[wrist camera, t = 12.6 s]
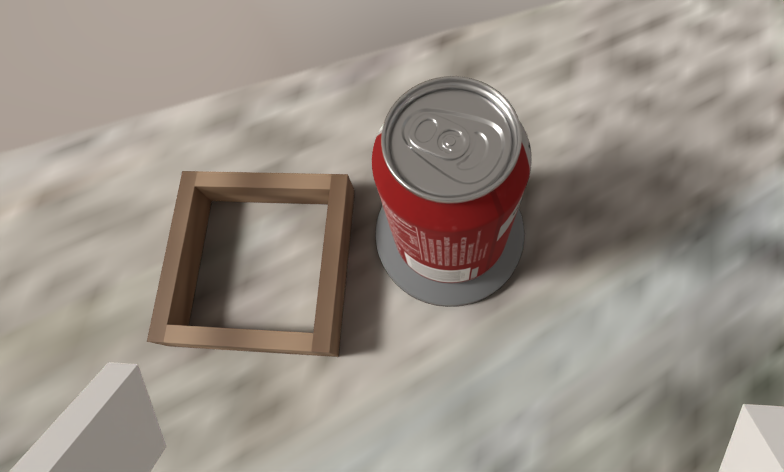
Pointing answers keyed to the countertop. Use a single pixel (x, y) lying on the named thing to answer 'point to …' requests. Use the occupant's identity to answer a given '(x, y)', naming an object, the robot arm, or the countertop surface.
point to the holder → (188, 247)
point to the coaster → (441, 291)
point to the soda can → (451, 176)
